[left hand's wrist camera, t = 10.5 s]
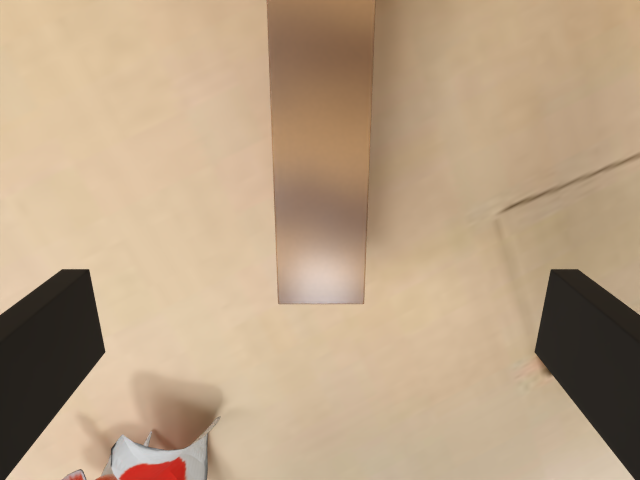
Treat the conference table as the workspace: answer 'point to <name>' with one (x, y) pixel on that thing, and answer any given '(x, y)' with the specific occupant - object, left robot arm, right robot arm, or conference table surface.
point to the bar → (321, 146)
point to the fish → (154, 461)
